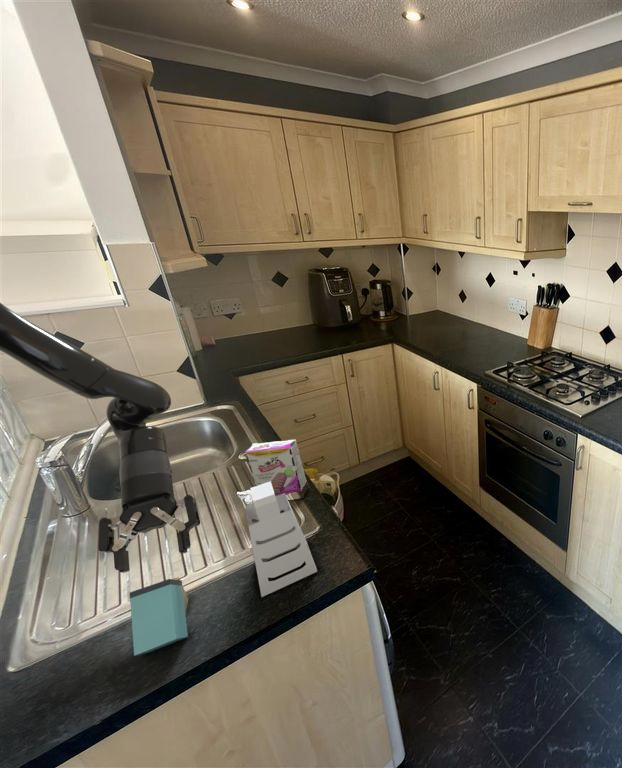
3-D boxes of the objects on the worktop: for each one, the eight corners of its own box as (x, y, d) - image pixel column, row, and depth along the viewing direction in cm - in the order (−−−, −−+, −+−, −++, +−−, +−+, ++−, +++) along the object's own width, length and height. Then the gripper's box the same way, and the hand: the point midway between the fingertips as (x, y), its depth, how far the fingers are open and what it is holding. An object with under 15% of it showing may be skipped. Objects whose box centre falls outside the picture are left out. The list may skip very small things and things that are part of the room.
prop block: (164, 622, 76) (153, 599, 74) (168, 606, 79) (158, 583, 77) (185, 614, 78) (174, 591, 76) (188, 599, 81) (178, 576, 79)
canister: (143, 673, 67) (116, 624, 63) (157, 621, 77) (135, 575, 72) (184, 656, 70) (161, 608, 66) (193, 607, 79) (174, 563, 75)
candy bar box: (260, 505, 109) (243, 452, 103) (267, 494, 113) (251, 442, 107) (304, 499, 110) (290, 447, 104) (309, 489, 115) (296, 438, 109)
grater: (307, 543, 94) (287, 470, 87) (317, 571, 86) (296, 493, 79) (255, 565, 89) (229, 488, 82) (261, 597, 81) (232, 515, 74)
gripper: (87, 486, 73) (92, 577, 68) (184, 462, 80) (195, 544, 74) (108, 495, 79) (114, 579, 74) (197, 472, 86) (207, 548, 81)
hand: (154, 561), depth 74 cm, fingers open, 8 cm apart
